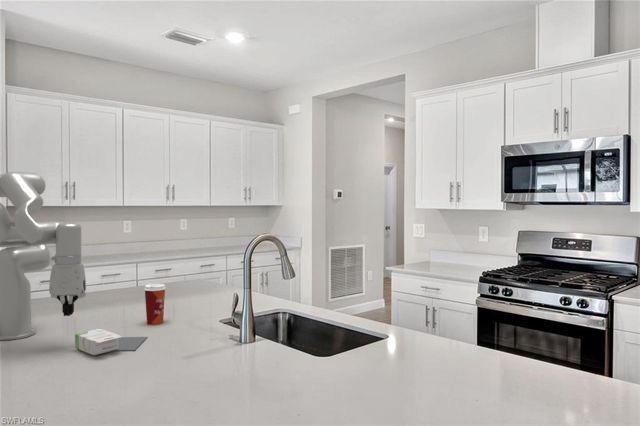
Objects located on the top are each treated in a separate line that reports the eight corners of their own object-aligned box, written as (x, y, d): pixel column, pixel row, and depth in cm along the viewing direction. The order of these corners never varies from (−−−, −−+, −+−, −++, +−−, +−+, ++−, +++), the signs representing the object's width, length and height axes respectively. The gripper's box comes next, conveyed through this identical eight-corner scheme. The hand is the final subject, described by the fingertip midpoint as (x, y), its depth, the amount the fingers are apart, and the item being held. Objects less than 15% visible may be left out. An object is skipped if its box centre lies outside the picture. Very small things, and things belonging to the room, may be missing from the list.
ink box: (74, 348, 150) (97, 358, 141) (74, 333, 150) (97, 342, 141) (100, 342, 157) (124, 351, 148) (100, 327, 156) (124, 335, 147)
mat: (86, 351, 148) (86, 350, 148) (103, 338, 162) (103, 337, 162) (135, 350, 149) (135, 349, 149) (147, 337, 163) (147, 336, 163)
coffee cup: (161, 325, 179) (161, 287, 178) (140, 325, 179) (140, 287, 178) (169, 320, 187) (169, 283, 186) (149, 319, 187) (148, 283, 187)
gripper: (39, 261, 149) (38, 318, 150) (87, 262, 150) (86, 318, 151) (50, 258, 156) (50, 312, 157) (96, 259, 158) (95, 312, 158)
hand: (68, 314), depth 154 cm, fingers closed
